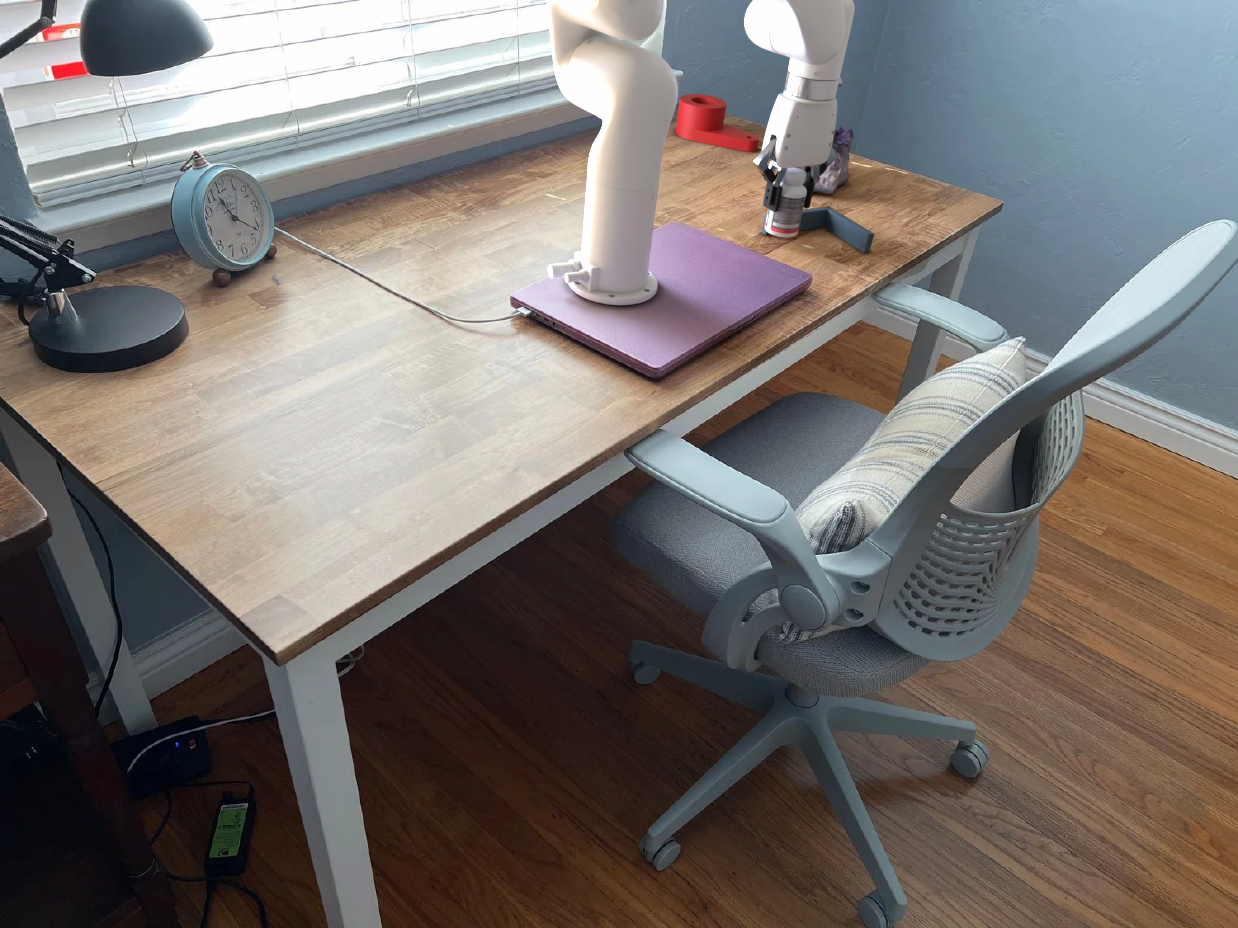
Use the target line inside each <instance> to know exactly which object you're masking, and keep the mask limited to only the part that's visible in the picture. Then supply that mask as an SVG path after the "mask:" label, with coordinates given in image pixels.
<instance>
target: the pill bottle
mask: <svg viewBox="0 0 1238 928" xmlns="http://www.w3.org/2000/svg"><path fill="white" fill-rule="evenodd" d="M805 179H806V172H805V171H804V170H801V169H798V168H788V169H787V171H786V173H785V175H784V177H783V180H782V182H781V184H780V186H781V187H782V188H783V190H782V195H781V199H780V204H779V209H778V211H777V212H773V211H771V210H769V209H768V208H767V212H766V214H767V217H766V223H765V230H766V231H767V232H768V233H770V234H772V236H774V237H778V238H784V239H785V238H787V239H788V238H793V237H795V236H797V235H799V234H798V233H799V231H798V230H799V226H800V221H801V217H802V212H803V209H805V208H804V203H805V199H806V194H807V190H806V188H805V186H803V185H802V184H803V183H804V182H805Z"/></svg>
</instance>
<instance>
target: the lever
mask: <svg viewBox="0 0 1238 928" xmlns="http://www.w3.org/2000/svg"><path fill="white" fill-rule="evenodd" d="M727 105H728V103H727V101H725V100H724V99H723V98H720V97H717V96H713V95H708V94H702V93H701V94H700V93H688V94H683V95H681V96H680V98H679V103H678V111H677V119H676V126H675V134H676V135H677V136H678V137H680V138H683V139H685V140H689V141H692V142H698V143H702V144H707V145H713V146H717V147H723V148H726V149H727V148H728V149H733V150H739V151H744V152H749V153H755V152H758V148H759V144H760V137H758V136H756V135H754V134H751V133H749V132H747V131H744V130H741V129H738V128H736V127H734V126H731V125H728V124H726V123H725V118H726V110H727Z"/></svg>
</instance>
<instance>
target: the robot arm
mask: <svg viewBox="0 0 1238 928" xmlns="http://www.w3.org/2000/svg"><path fill="white" fill-rule="evenodd" d="M664 3H665V0H546V8H547V9H546V10H547V18H548V27H549V37H550V44H551V52H552V53H551V54H552V62H553V68H554V69H553V70H554V74H555V79H556V82H557V86H558V88H559V90H560V92H561V93H562V95H563V96H564V98H565V99H566V100H568V102H570V103H571V104H573V105H574V106H576V107H578V108H579V109H582V110H584V111H585V112H588V113H589V114H592V115H593V116H596V117H597V118H599V119H601V120H602V125H601V128H600V131H599V132H598V134H597V136H596V138H595V139H594V141H593V143H592V146H591V148H590V151H589V155H588V160H587V169H586V170H587V172H586V187H585V198H584V199H585V200H584V214H583V226H582V239H581V250H579V251H574V252H573V259H568V261H567V262H557V263H550V264H548V265H547V275H548V277H549V279H559V278H563V279H564V280H563V281H564V282H565V283H566V284H568V286H569V287H570V289H571V290H572V291H573V292H574V293H575V294H576V295H578V296H580V297H582V298H584V299H586V300H588V301H592V302H595V303H598V304H603V305H608V306H609V305H610V306H631V305H637V304H638V305H639V304H641V303H645V302H646V301H649V300H650V299H652V298H653V297H654V296H655V295H656V294H657V291H658V286H659V285H658V284H659V283H658V279H657V277H656V276H655V275H654V273H652V271H650V270H649V267H650V260H651V259H650V257H651V251H652V244H653V236H654V235H653V234H654V227H655V219H656V210H657V201H658V194H659V193H658V192H659V186H660V177H661V169H662V163H663V157H664V150H665V144H666V141H667V136H668V133H669V129H670V127H671V124H672V120H673V117H674V114H675V111H676V108H677V103H678V100H679V83H678V80H677V79H678V78H677V77H676V74H675V72H674V70H673V67H671V65H670V64H669V63H668V62H667V61H666V60H664V58H662V57H661V56H660V55H658V54H656V53H655V52H653V51H650V49H649V50H648V49H647V48H644V47H642V46H639V45H636V44H634V43H631V42H636V41H642V40H645V39H647V38H649V37H650V36H652V35H653V34H654V33H655V32H656V31H657V29H658V27H659V26H660V23H661V21H662V17H663V12H664ZM855 7H856V6H855V3H854V1H853V0H752V1H750V3H749V5H748V7H747V9H746V11H745V14H744V19H743V23H744V30H745V33H746V35H747V37H748V39H749V40H750V41H751V42H752V43H753V44H754V45H756V46H758V47H759V48H761V49H762V50H763V49H764V50H766V51H769V52H772V53H774V54H777V55H781V56H785V57H786V58H789V63H788V68H787V73H786V79H785V83H784V89H783V92H780V93H779V94H778V95H777V97H776V99H775V102H774V105H773V107H772V110H771V113H770V116H769V120H768V123H767V127H766V130H765V134H764V137H763V143H762V146H761V147H762V148H761V151H760V153H759V154H758V155H757V156H756V157H755V158H754V160H753V165H754V166H755V168H756V169H757V170H758V171H759V173H760V174H761V176H762V177H763V181H765V182H766V185H765V191H764V195H763V202H762V205H763V206H764V207H765V208H766V209H767V210H768V209H769V210H771V211H773V212H777V211H778V209H779V204H780V199H781V195H782V190H783V188H782V187H781V186H780V184H781V182H782V180H783V177H784V175H785V173H786V171H787V169H788V168H794V167H803V170H804V171H805V172H806V179H805V182H804V183H803V184H802V185H803V186H805V188H806V190H807V194H806V199H805V203H804V208H803V209H810V207H811V203H812V199H813V193H814V191H813V190H814V185H815V183H817V182H818V181H819V180H820V176H821V175H822V174H823V173H824V172H825V171H826V169H827V167H828V166H829V165H831V164H832V163H833V162H834V161H835V160H836V158H837V155H836V153H835V151H834V149H833V147H832V143H833V138H834V132H835V130H836V125H837V115H838V114H837V113H838V98H837V97H836V96H837V92H838V88H841V87H842V86H843V79H842V78H841V74H842V69H843V65H844V60H845V57H846V51H847V48H848V43H849V38H850V34H851V30H852V25H853V21H854V16H855V11H856V9H855ZM629 41H630V42H629ZM769 161H770V163H769ZM768 163H769V165H768Z"/></svg>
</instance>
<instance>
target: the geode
mask: <svg viewBox="0 0 1238 928" xmlns="http://www.w3.org/2000/svg"><path fill="white" fill-rule="evenodd" d="M854 138H855V134H854V132H853V129H852V127H850V128H848V129H846V130H845V129H844V128H843V127H842V126H839V127H838V128H837V129H835V132H834V138H833V143H832V147H833V149H834V151H835V153H836V155H837V158H836V160H835V161H834V162H833V163H832V164H831V165H829V166H828V167H827V169H826V171H825V172H824V173H823V174H822V175H821V176H820V180H819V181H818V182H817V183H815V185H814V190H813V193H822V194H825V195H826V194H828V195H834V194H835V193H836V192H837V189H838V187H841V186H842V185H845V184H847V182H848V180H849V164H850V163H849V162H850V157H851V156H850V151H851V149H852V141H853V139H854ZM794 168H798V169H801V170H803V167H794Z"/></svg>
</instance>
